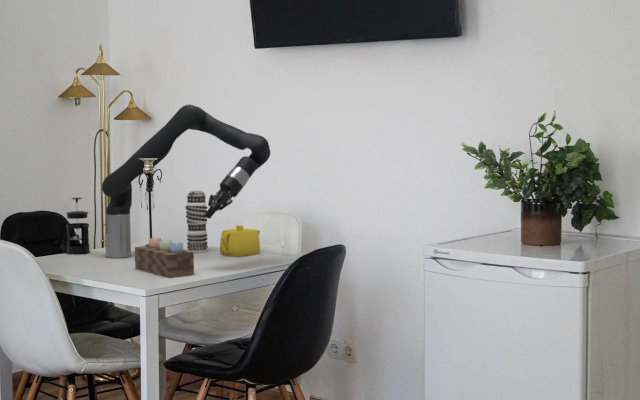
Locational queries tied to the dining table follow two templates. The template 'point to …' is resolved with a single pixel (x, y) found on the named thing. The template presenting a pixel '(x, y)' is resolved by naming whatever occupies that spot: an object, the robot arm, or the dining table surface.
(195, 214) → the decorative candle
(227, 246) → the teapot
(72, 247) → the french press
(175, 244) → the blue button
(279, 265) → the dining table surface
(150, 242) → the terracotta button
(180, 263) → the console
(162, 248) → the sage button
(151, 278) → the dining table surface
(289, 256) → the dining table surface
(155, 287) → the dining table surface
